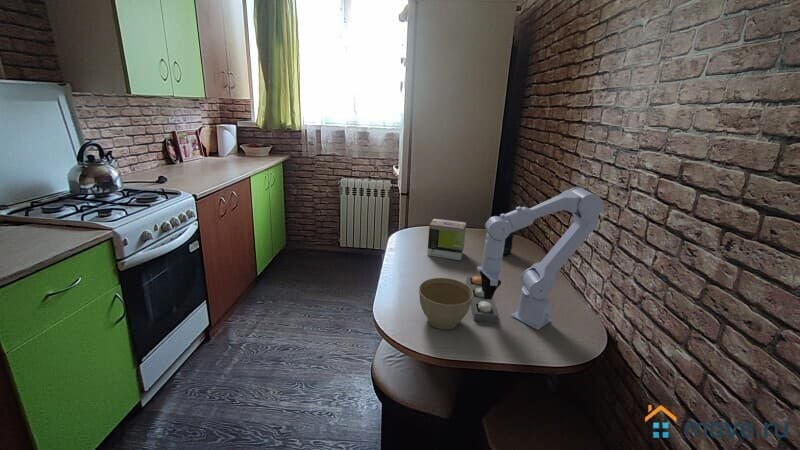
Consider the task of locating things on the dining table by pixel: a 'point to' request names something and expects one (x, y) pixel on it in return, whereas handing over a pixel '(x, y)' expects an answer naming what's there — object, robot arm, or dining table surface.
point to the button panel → (475, 303)
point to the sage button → (479, 293)
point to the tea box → (446, 238)
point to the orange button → (476, 280)
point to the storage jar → (508, 245)
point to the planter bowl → (445, 301)
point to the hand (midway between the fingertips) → (486, 295)
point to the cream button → (484, 307)
